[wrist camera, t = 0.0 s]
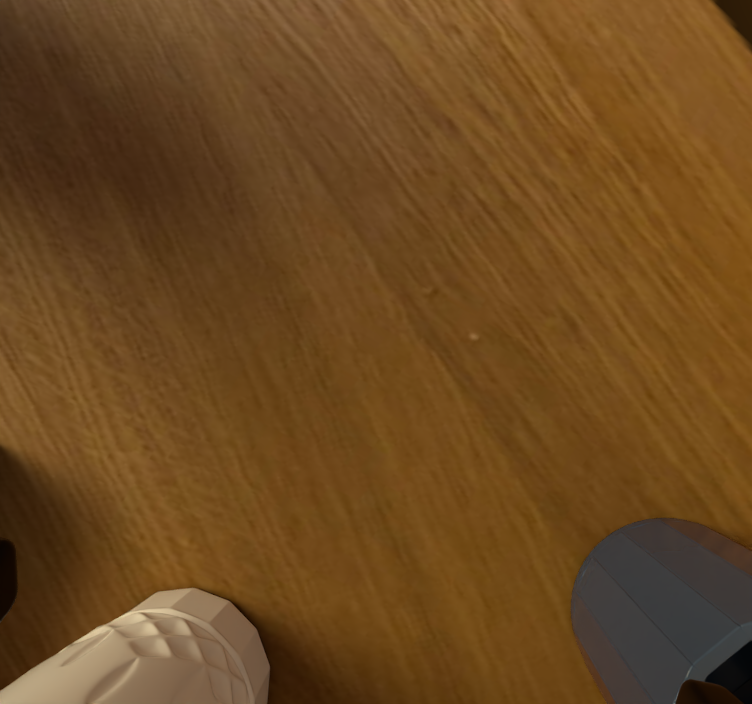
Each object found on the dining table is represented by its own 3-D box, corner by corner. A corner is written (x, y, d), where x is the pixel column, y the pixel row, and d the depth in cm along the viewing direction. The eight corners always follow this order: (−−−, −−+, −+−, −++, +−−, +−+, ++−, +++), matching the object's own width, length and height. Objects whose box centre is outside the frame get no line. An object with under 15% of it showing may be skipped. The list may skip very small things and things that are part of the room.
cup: (661, 751, 20) (821, 1007, 12) (531, 599, 20) (597, 743, 12) (811, 628, 19) (1080, 804, 11) (674, 478, 20) (836, 545, 12)
